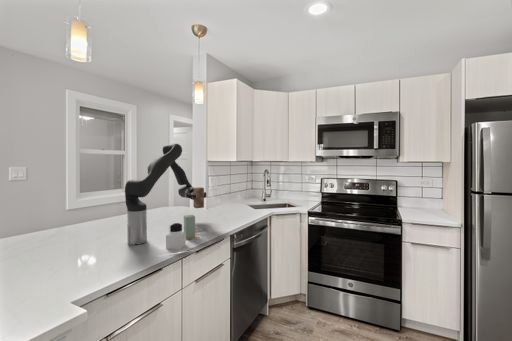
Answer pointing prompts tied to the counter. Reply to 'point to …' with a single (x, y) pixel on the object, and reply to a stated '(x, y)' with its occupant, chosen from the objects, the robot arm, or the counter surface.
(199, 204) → the walnut block
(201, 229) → the slate tile
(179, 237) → the medicine bottle
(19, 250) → the counter surface
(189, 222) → the sage block
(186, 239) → the oak tile
